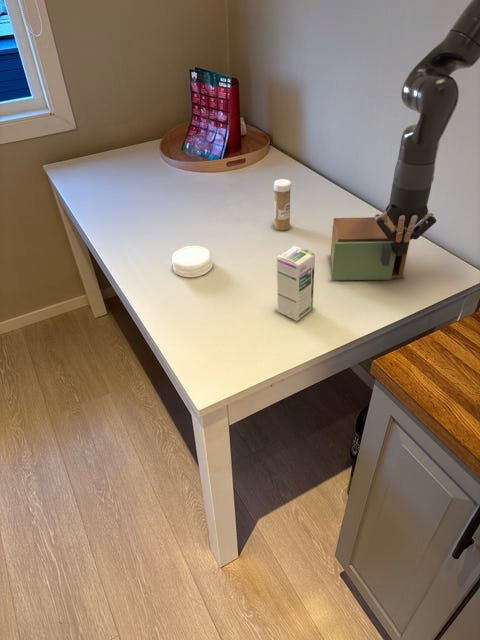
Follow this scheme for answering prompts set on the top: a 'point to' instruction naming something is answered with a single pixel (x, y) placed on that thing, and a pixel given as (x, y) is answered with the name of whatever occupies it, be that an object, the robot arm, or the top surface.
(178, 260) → the white short cylinder
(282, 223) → the sprinkles bottle
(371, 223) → the cupboard
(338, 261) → the sliding door
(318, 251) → the top surface
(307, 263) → the syrup box
